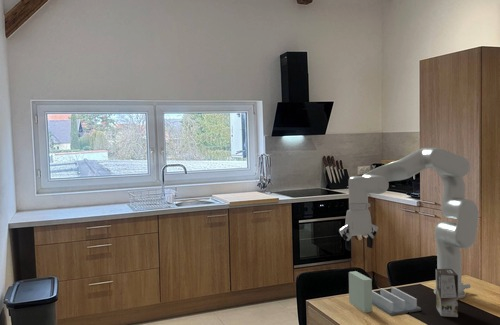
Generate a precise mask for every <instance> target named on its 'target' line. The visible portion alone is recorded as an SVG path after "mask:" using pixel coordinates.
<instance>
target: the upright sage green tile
mask: <svg viewBox="0 0 500 325" xmlns="http://www.w3.org/2000/svg"><path fill="white" fill-rule="evenodd" d="M372 282H373V280H372V278H370V277H368V276H367V275H365V274H362V273H361V272H358V270H357V271H356V270H355V271H349V272H348V295H349V296H348V303H349V304H351V305H353V306H354V307H355V308H357V309H359V310H360V311H361V312H363V313H373V304H372V291H373V286H372V284H373V283H372Z"/></svg>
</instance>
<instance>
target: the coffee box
mask: <svg viewBox="0 0 500 325" xmlns="http://www.w3.org/2000/svg"><path fill="white" fill-rule="evenodd" d="M435 288H436V294H435V299H436V301H435V307H436V311H437V312H438V313H439V315H440V316H441V317H449V318H458V317H459V299H458V275H457V274H456V273H455V272H454V271H453V270H452V269H437V268H435Z"/></svg>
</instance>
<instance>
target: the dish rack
mask: <svg viewBox="0 0 500 325" xmlns="http://www.w3.org/2000/svg"><path fill="white" fill-rule="evenodd" d="M390 289H391V290H390V291H388V290H386V289H385V288H380V289H379V290H380V291H379V292H380V294H379V293H378V292H376V291H374V290H372V306H375V307H376V308H378V309H379V310H381V311H383V312H384V313H385V314H387V315H389V316H396V314H397V315H401V313H403V314H407V313H408V312H409V313H414V312H420V311H422V308H421V307H420V306H418V304H417V303H418V298H415V297H414V296H412V295H410V294H408V293H407V292H404V291H403V290H400V289H399V288H396V287H394V286H390Z"/></svg>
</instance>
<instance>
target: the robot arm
mask: <svg viewBox="0 0 500 325" xmlns="http://www.w3.org/2000/svg"><path fill="white" fill-rule="evenodd" d="M427 169H434V171H435V173H436V174H437V175H438V176H439V177H440V179H441V180H442V184H443V188H442V189H443V190H442V197H441V198H442V200H441V207H440V209H441V210H440V211H441V214H442V215H443V217H445V218H447V219H449V220H454V221H456V222H452V221H442V222H439V223H438V224H437V225H436V226H435V228H434V238H435V244H436V253H437V255H436V256H437V258H436V261H437V264H436V266H437V268H436V269H452V270H453V271H454V272H455V273H456V274H457V275H458V300H460V299H463V298H466V292H465V291H464V290H467V289H471V288H472V286H471V284H470V283H465V284H464V283H463V282H462V251H461V249H463V250H464V249H469V248H471V247H472V246H473V245H474V243H475V241H476V237H477V232H478V222H479V216H480V215H479V213H480V212H479V207H478V205H477V203H475V202H474V201H473V200H471V199H469V198H465V196H466V195H465V194H466V183H465V180H464V177H465V176H467V175H468V174H469V172H470V171H471V164H470V161H469V160H468V159H467V158H466V157H464V156H462V155H460V154H456V153H454V152H451V151H449V150H447V149H443V148H441V147H440V148H439V147H422V148H420V149H417V150H414V151H413V152H412V153H410V154H408V155H406V156H404V157H401V158H400V159H398V160H396V161H395V160H394V161H392V162H389V163H387V164H384V165H383V164H382V165H381V166H378V167H375V168H373V169H371V170H370V171H367V172H366V173H364V174H363V175H362V176H361V175H355V176H353V175H352V176H350V177H349V178H348V209H347V210H346V215H345V223H344V226H342V227H341V228H339V229H338V232H339V234H340V236H341V237H342V239H343V240H344V244H345V245H344V247H345V250H347V251H349V252H350V251H351V250H352V241H351V239H352V237H353V236H365V235H366V236H367V237H366V247H367V248H369V249H373V245H374V243H373V242H374V241H373V240H374V238H375V236H376V234H377V232H378V230H379V226H377V225H375V224H373V223H372V217H371V216H372V215H371V212H370V210H369V207H371V203H369V201H368V200H369V194H371V195H372V194H374V195H380V194H381V195H382V194H384V193H386V192H387V190H388V189H389V188H390V187H389V185H390V183H389V182H394V181H403V180H407V179H410V178H412V177H413V176H415V175H417V174H419V173H421V172H423V171H425V170H427ZM433 293H434V295H436V287H435V288H434V289H433Z"/></svg>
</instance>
